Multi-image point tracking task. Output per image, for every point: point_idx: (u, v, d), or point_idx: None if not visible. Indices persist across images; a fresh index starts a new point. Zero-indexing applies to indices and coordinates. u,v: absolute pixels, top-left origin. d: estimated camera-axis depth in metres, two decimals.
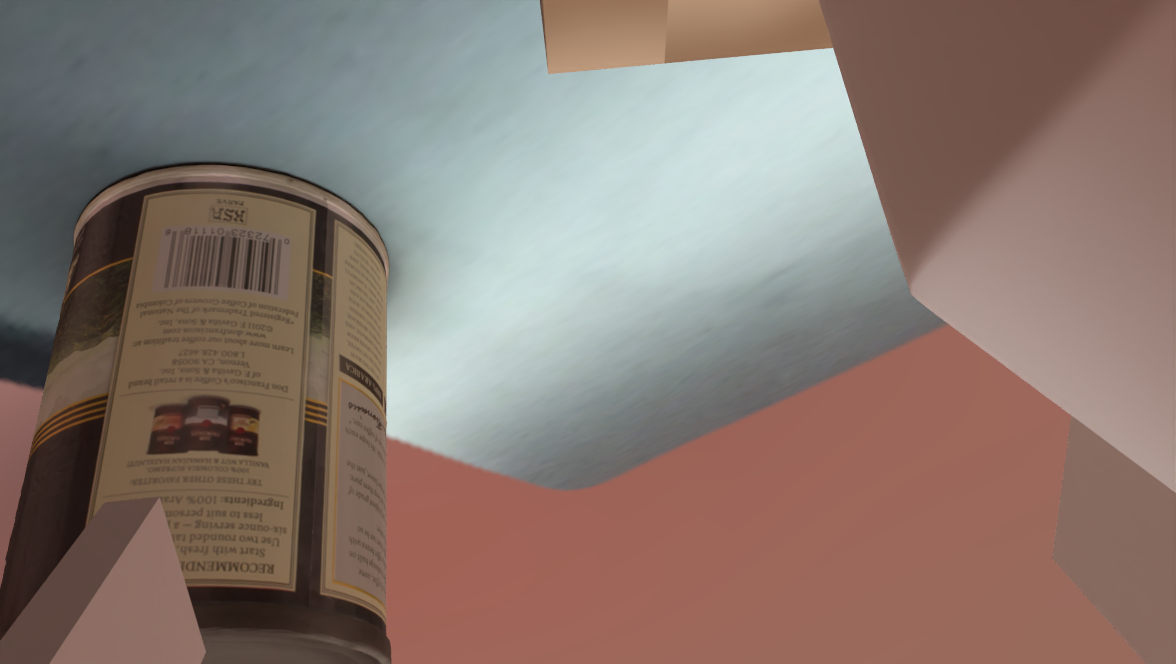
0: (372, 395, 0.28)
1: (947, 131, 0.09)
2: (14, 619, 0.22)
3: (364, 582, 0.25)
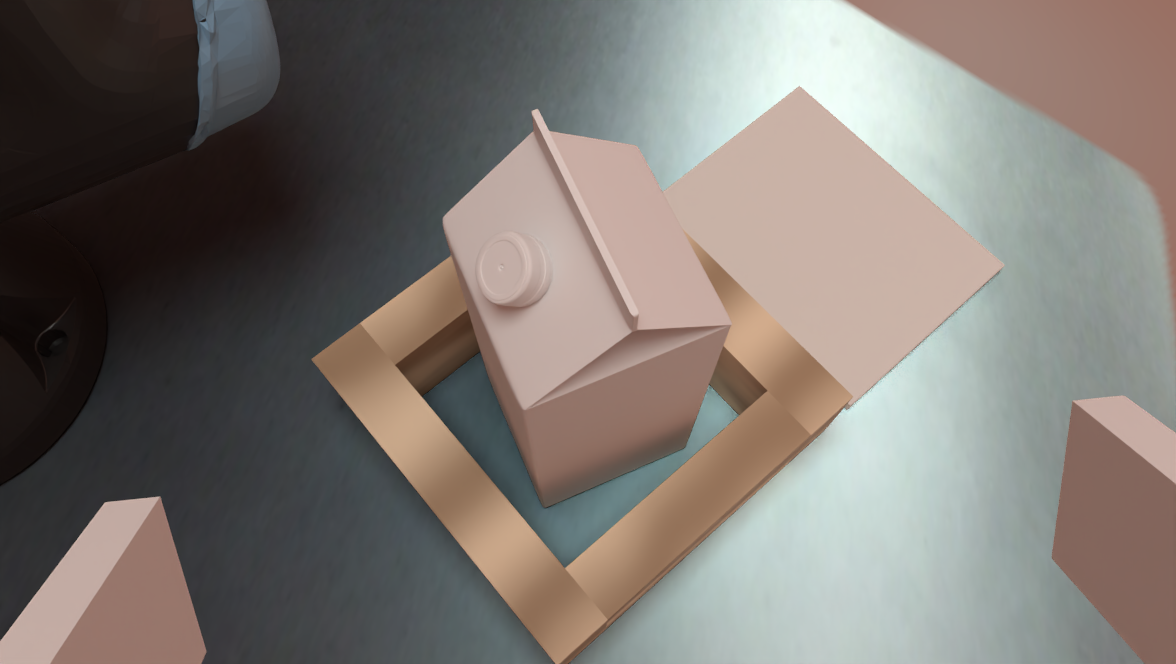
0: None
1: (507, 383, 0.29)
2: None
3: None
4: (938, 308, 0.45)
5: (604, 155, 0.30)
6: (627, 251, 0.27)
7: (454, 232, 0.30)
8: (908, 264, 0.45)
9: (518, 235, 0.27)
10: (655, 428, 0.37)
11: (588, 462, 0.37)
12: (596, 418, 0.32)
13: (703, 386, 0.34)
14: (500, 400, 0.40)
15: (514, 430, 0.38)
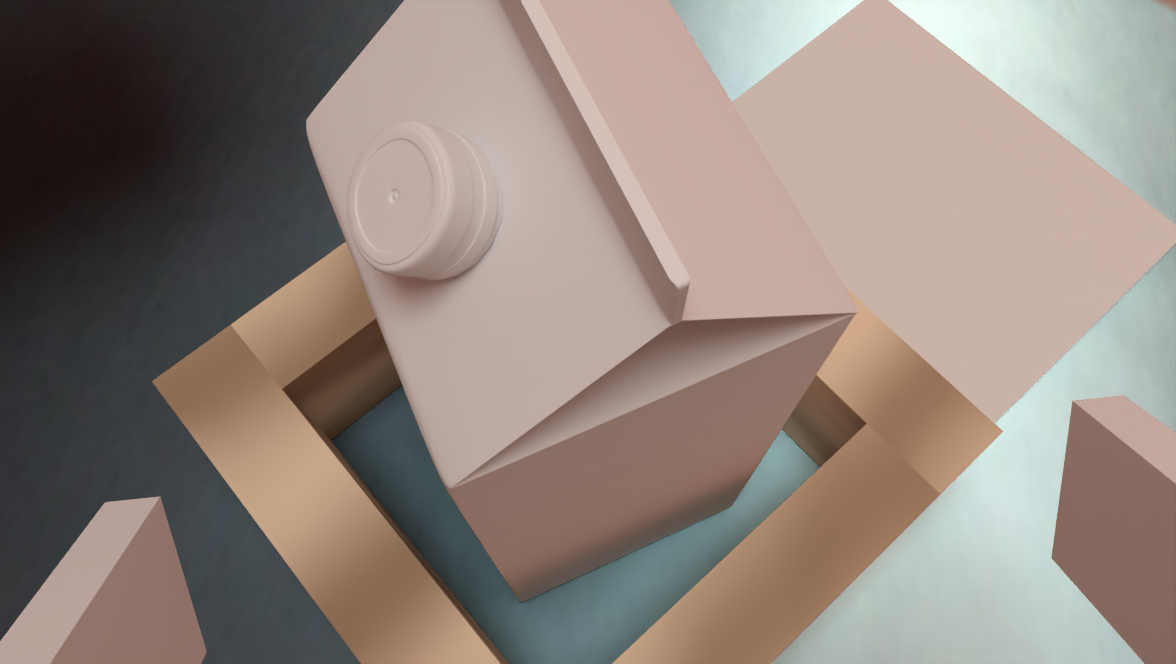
0: None
1: None
2: None
3: None
4: (1095, 295, 0.31)
5: None
6: (655, 162, 0.13)
7: (324, 145, 0.16)
8: (1046, 233, 0.31)
9: (427, 127, 0.13)
10: (693, 488, 0.23)
11: (585, 544, 0.23)
12: (596, 486, 0.18)
13: (778, 423, 0.20)
14: None
15: None
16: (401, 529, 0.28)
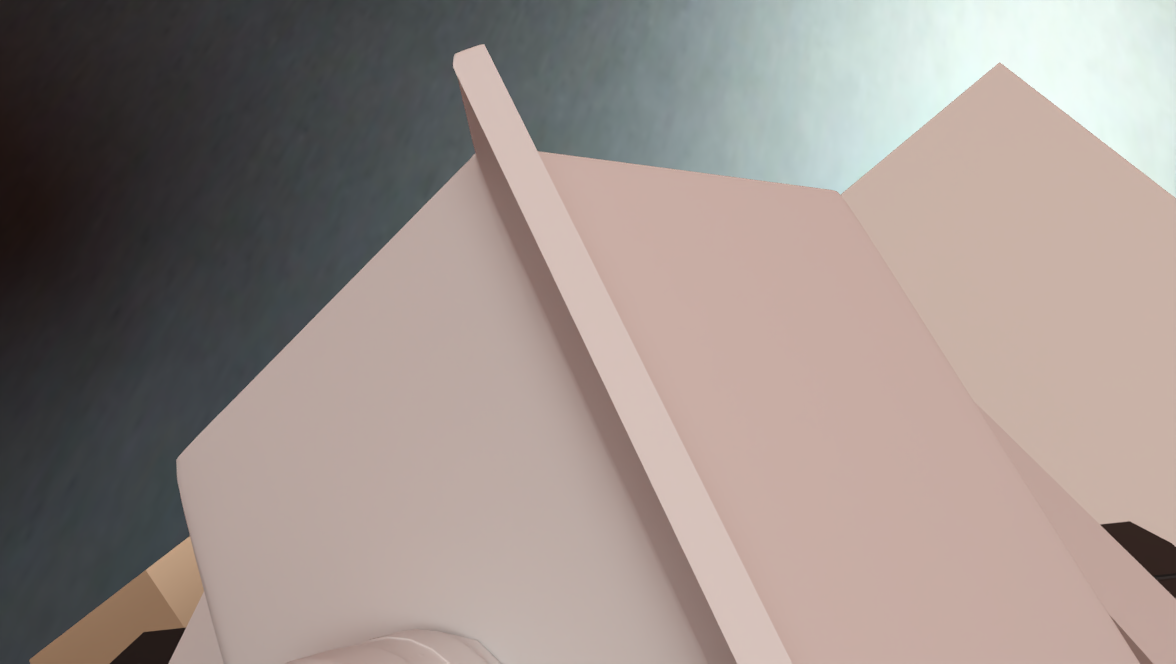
0: None
1: None
2: None
3: None
4: None
5: (757, 238, 0.08)
6: None
7: (205, 526, 0.08)
8: None
9: None
10: None
11: None
12: None
13: None
14: None
15: None
16: None
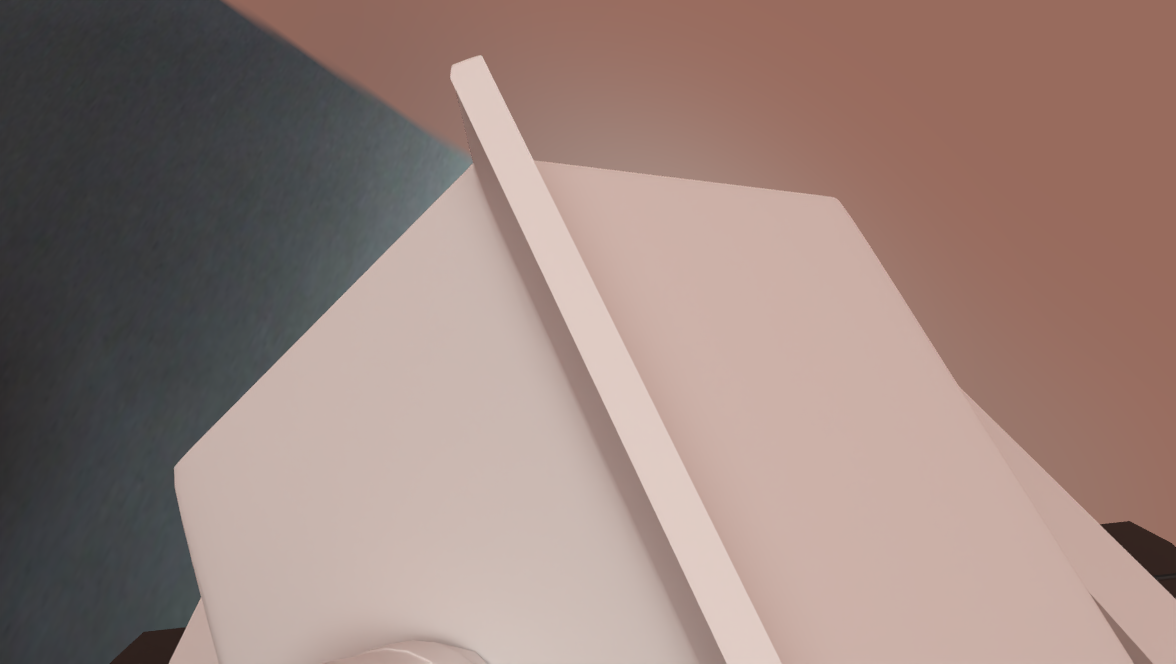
0: None
1: None
2: None
3: None
4: None
5: (756, 246, 0.08)
6: None
7: (203, 534, 0.08)
8: None
9: None
10: None
11: None
12: None
13: None
14: None
15: None
16: None
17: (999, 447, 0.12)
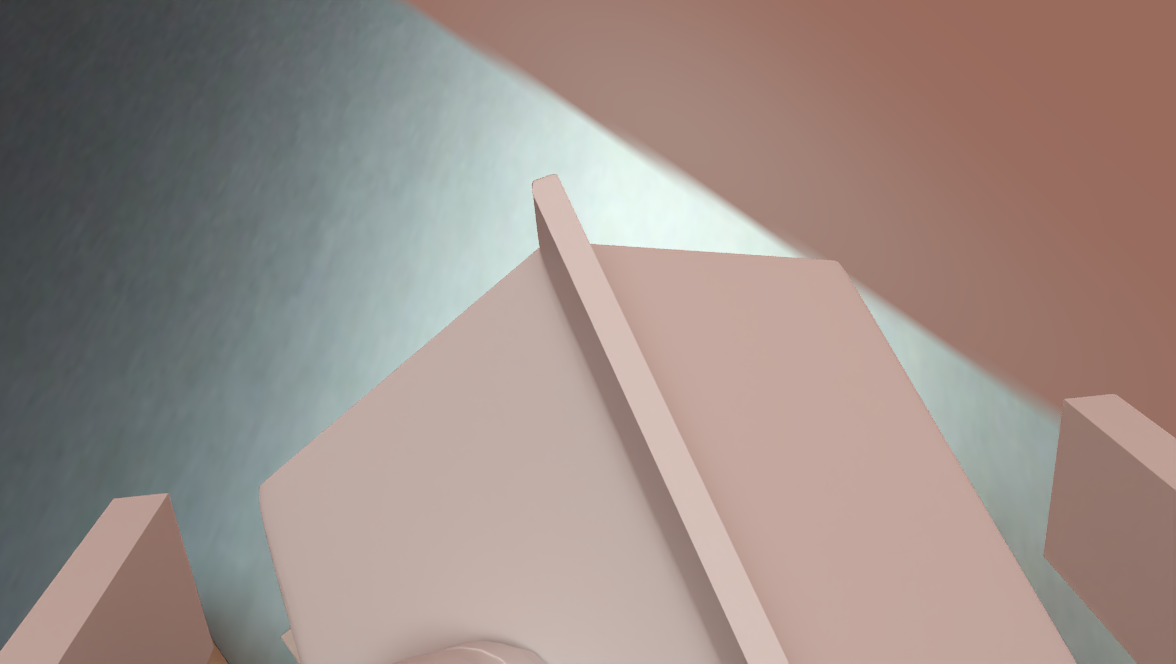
0: None
1: None
2: None
3: None
4: None
5: (768, 310, 0.09)
6: None
7: (287, 545, 0.09)
8: None
9: None
10: None
11: None
12: None
13: None
14: None
15: None
16: None
17: None
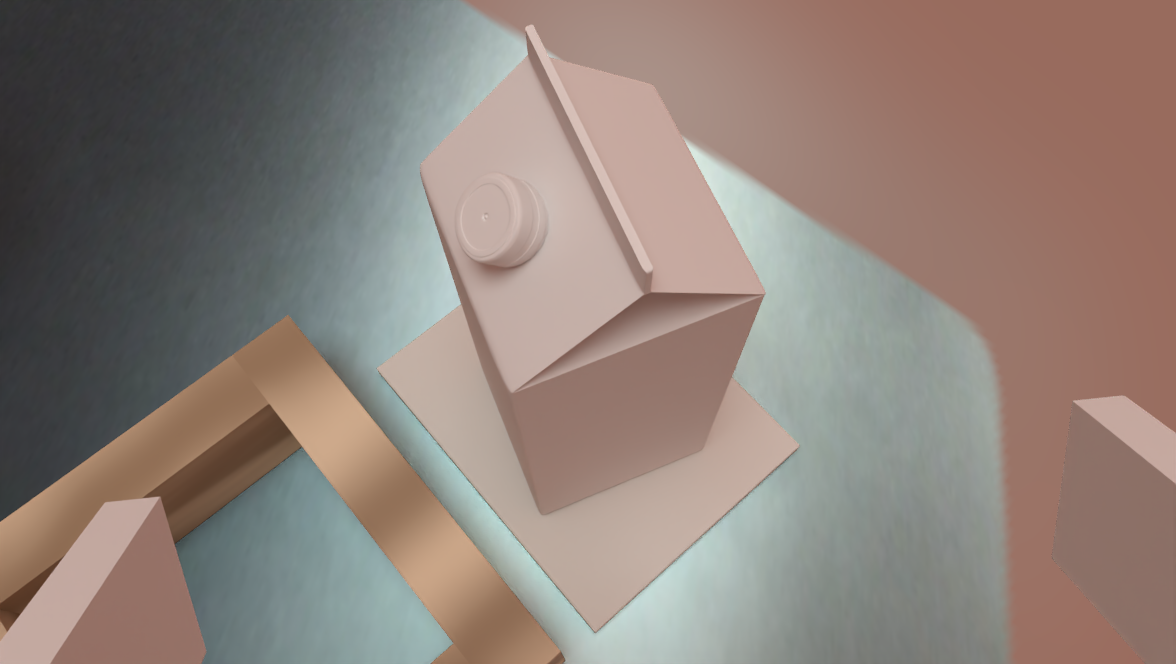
0: None
1: (493, 362, 0.24)
2: None
3: None
4: (714, 502, 0.37)
5: (613, 90, 0.25)
6: (639, 200, 0.22)
7: (433, 181, 0.25)
8: None
9: (506, 177, 0.22)
10: (670, 424, 0.32)
11: (591, 462, 0.32)
12: (600, 408, 0.27)
13: (727, 374, 0.29)
14: (493, 391, 0.35)
15: (507, 425, 0.33)
16: None
17: None
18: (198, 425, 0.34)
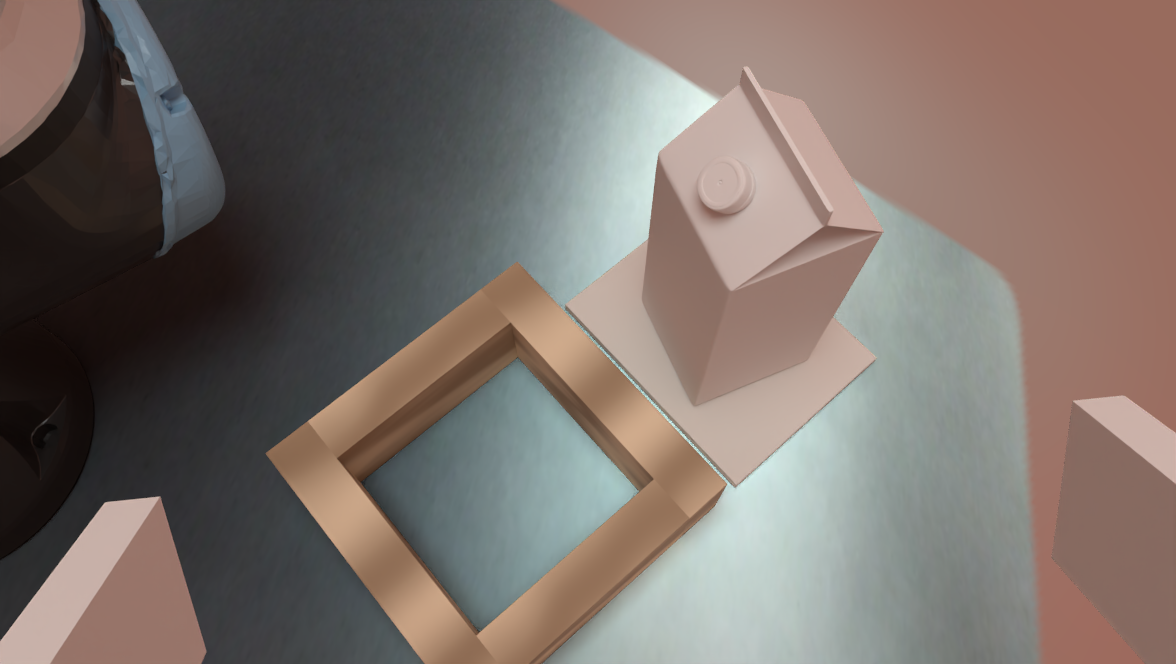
0: None
1: (712, 275, 0.39)
2: None
3: None
4: (816, 397, 0.51)
5: (785, 105, 0.39)
6: (811, 172, 0.37)
7: (669, 162, 0.39)
8: None
9: (734, 158, 0.36)
10: (797, 331, 0.46)
11: (743, 359, 0.46)
12: (767, 310, 0.41)
13: (844, 292, 0.43)
14: (663, 315, 0.49)
15: (680, 335, 0.48)
16: (401, 534, 0.49)
17: None
18: (462, 337, 0.48)
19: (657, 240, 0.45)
